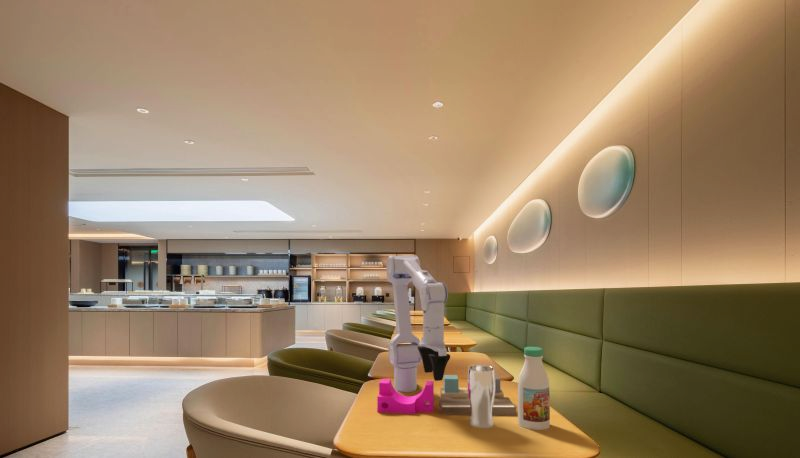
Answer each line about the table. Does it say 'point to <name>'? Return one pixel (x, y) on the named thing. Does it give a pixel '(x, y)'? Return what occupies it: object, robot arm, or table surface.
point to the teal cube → (450, 384)
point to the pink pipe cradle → (404, 399)
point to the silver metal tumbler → (481, 395)
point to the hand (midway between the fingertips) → (433, 376)
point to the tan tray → (464, 393)
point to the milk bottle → (533, 392)
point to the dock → (463, 407)
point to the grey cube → (497, 384)
